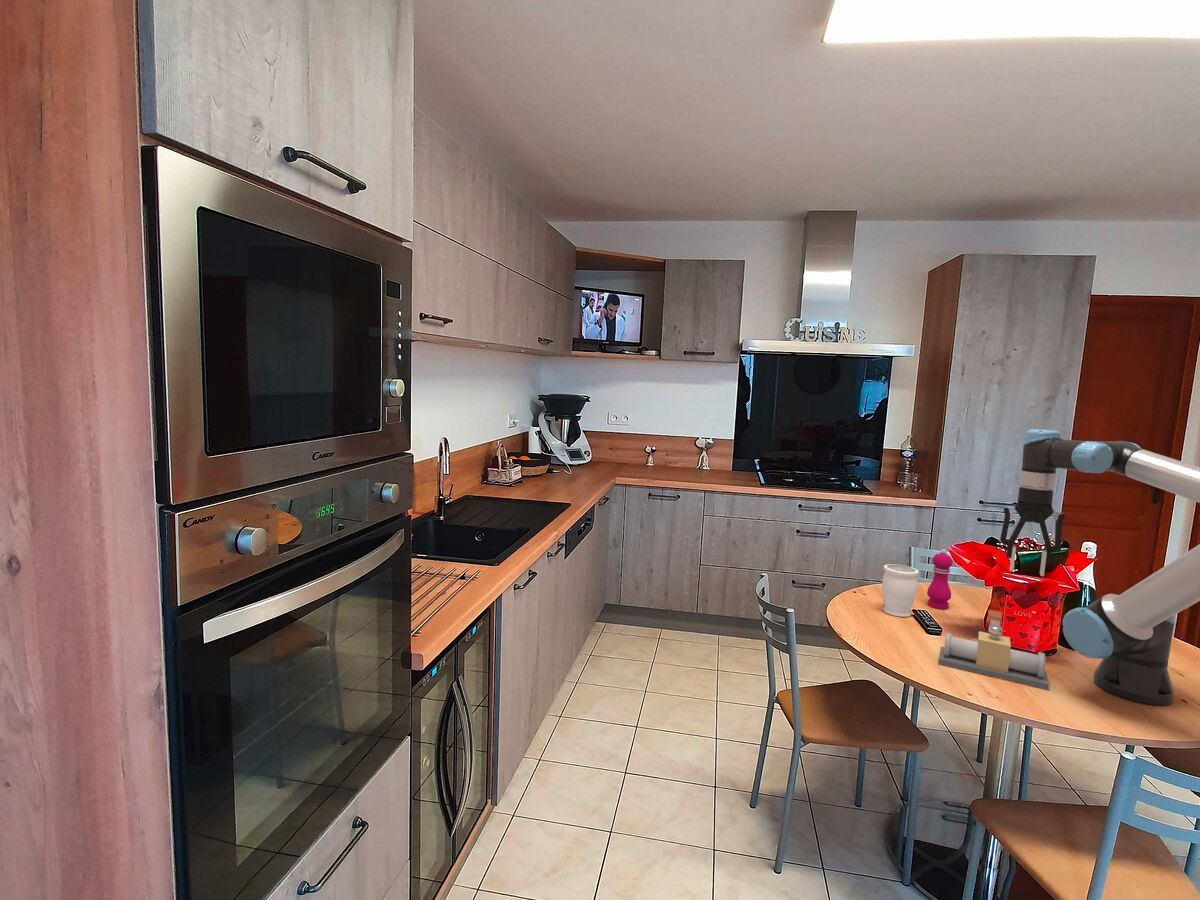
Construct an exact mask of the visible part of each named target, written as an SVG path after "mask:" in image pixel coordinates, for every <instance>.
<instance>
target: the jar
mask: <svg viewBox="0 0 1200 900" xmlns="http://www.w3.org/2000/svg"><path fill="white" fill-rule="evenodd" d="M883 570H884V573H883V575H882V581H881V582H882V583H881V590H882V591H881V592H882V601H883V604H884V606H883V608H882V609H883V611H884V612H885V613H886V614H888V615H890V616H894V617H898V618H899V617H900V618H901V617H902V618H906V617H910V616H911V615H912V611H911V609H912V608H913V606H914V604H915V600H916V596H917V592H918V578H917V576H918V575H919V570H918V569H917V568H915V567H911V566H909V565H904V564H895V563H891V564H890V563H889V564H885V565H883Z"/></svg>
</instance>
